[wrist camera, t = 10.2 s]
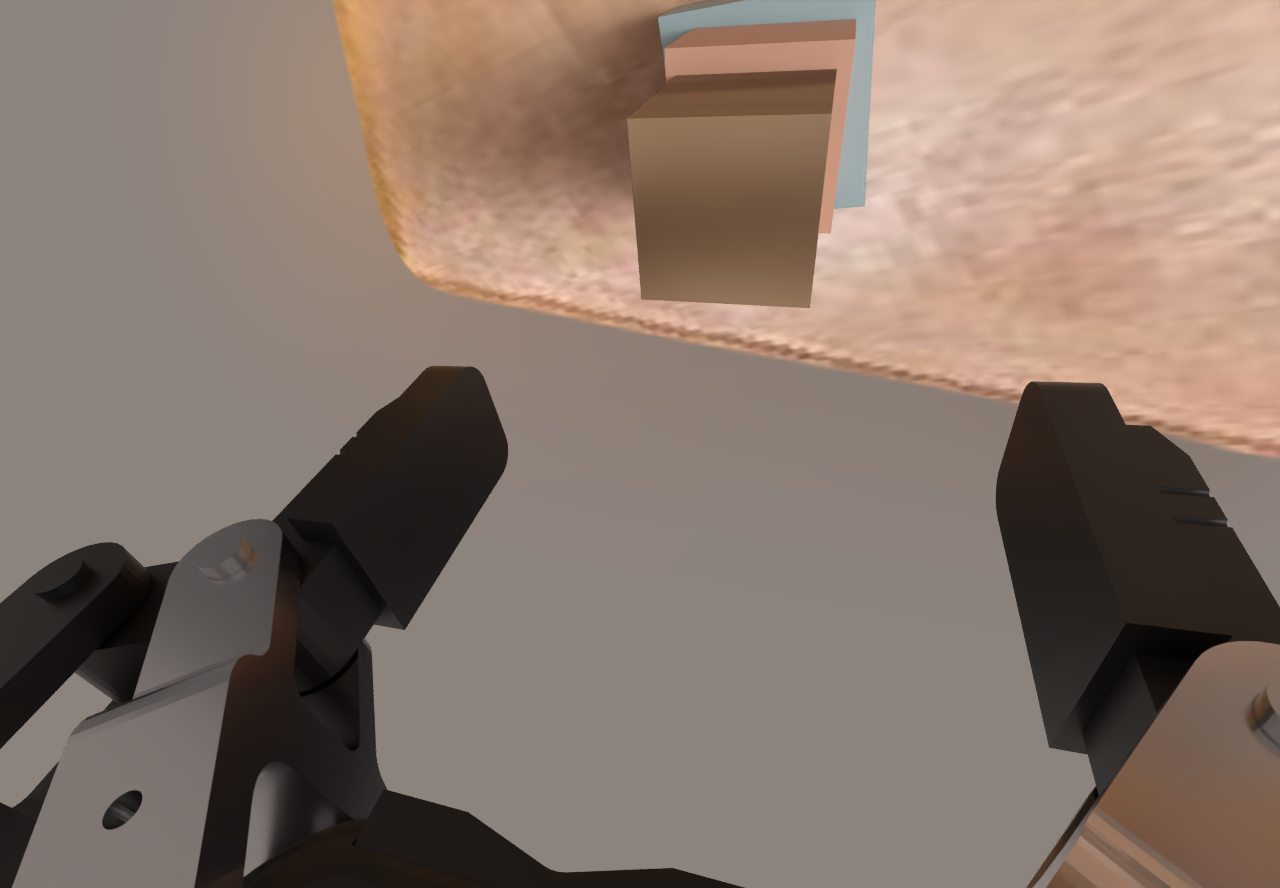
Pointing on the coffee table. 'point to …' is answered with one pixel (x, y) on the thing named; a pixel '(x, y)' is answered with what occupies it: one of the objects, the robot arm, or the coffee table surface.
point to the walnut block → (731, 186)
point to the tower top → (777, 68)
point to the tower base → (801, 3)
